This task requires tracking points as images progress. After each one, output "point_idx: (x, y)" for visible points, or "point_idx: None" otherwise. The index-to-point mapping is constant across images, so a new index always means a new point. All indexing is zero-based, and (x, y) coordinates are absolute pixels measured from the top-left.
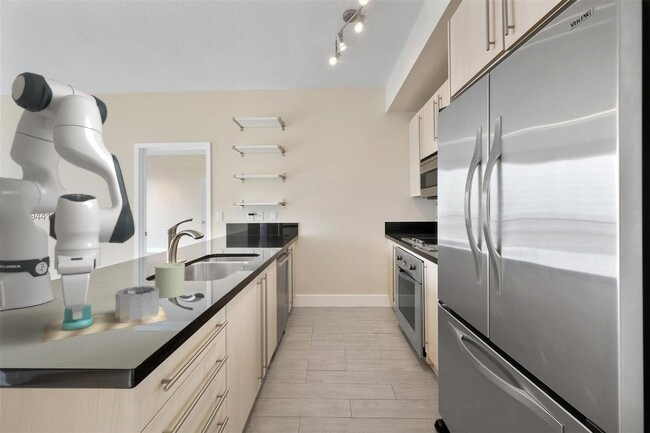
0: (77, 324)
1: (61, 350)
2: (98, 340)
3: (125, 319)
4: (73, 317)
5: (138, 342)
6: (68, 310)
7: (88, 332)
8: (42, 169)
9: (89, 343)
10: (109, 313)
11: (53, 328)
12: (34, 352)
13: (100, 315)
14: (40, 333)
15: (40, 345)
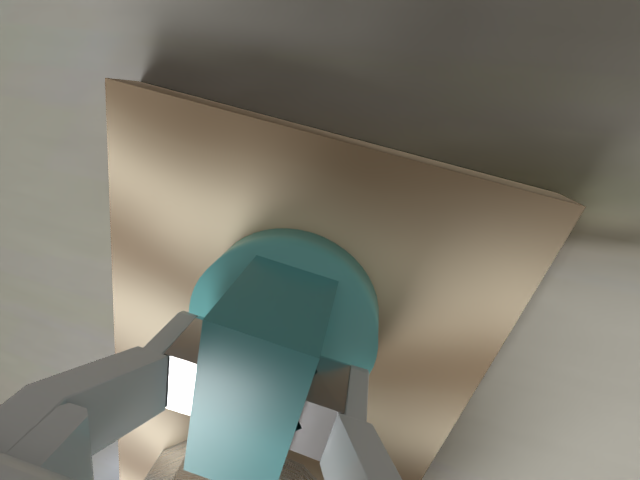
0: (195, 303)
1: (65, 161)
2: (112, 306)
3: (165, 462)
4: (176, 320)
5: (18, 379)
6: (200, 344)
7: (132, 305)
8: None
9: (95, 271)
10: (415, 476)
11: (363, 190)
12: (105, 42)
13: (417, 441)
14: (477, 118)
15: (207, 85)
